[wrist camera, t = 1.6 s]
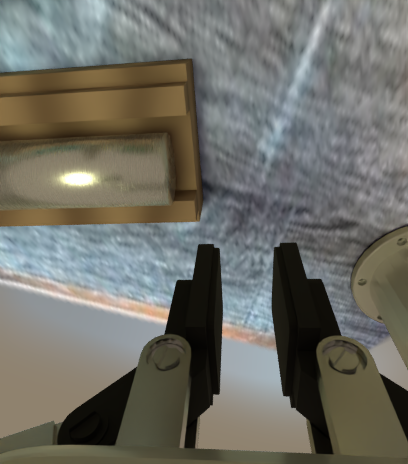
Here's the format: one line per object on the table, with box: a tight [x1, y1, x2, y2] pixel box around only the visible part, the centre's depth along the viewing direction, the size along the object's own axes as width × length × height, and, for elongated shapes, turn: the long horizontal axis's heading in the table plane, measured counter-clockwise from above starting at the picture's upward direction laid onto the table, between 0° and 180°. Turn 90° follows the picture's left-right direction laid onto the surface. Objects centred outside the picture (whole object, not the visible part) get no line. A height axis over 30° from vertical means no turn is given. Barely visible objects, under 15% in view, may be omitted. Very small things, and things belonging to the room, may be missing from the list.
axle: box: [0, 133, 176, 210], centre depth 24 cm, size 14×5×5 cm, turn 94°
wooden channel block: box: [0, 59, 203, 226], centre depth 27 cm, size 18×12×6 cm, turn 94°
